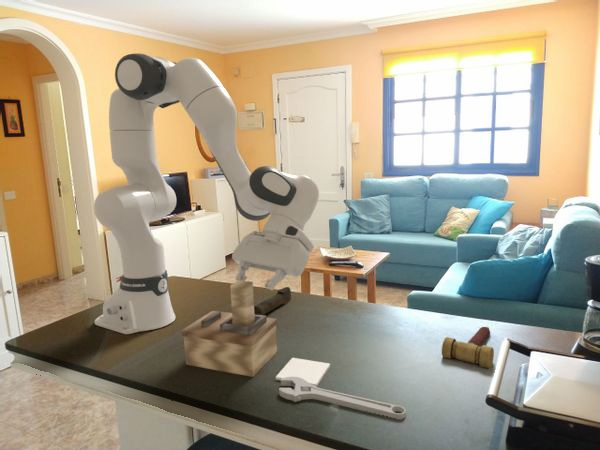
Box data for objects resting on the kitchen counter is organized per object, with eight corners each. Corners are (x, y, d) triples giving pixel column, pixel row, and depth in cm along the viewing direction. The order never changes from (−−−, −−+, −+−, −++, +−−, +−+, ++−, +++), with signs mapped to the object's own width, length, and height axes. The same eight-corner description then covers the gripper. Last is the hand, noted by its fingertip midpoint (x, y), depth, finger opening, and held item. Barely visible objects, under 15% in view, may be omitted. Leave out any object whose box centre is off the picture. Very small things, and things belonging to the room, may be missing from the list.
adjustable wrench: (407, 415, 80) (407, 406, 79) (396, 435, 74) (396, 426, 74) (288, 381, 92) (288, 373, 92) (271, 396, 87) (271, 388, 86)
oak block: (232, 328, 98) (230, 285, 97) (240, 322, 102) (238, 280, 100) (247, 330, 97) (244, 286, 95) (254, 324, 100) (252, 281, 99)
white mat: (275, 379, 92) (275, 376, 92) (292, 360, 100) (292, 357, 100) (316, 387, 89) (316, 384, 89) (330, 366, 97) (330, 363, 97)
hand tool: (260, 321, 124) (260, 305, 123) (249, 318, 126) (248, 302, 125) (298, 300, 139) (297, 286, 139) (287, 298, 142) (287, 284, 141)
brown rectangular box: (184, 365, 100) (180, 324, 98) (214, 341, 111) (212, 304, 109) (253, 377, 93) (251, 334, 91) (278, 351, 105) (277, 312, 103)
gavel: (467, 315, 115) (509, 323, 109) (466, 332, 116) (508, 341, 110) (441, 340, 98) (489, 351, 92) (440, 360, 99) (488, 372, 93)
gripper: (243, 223, 111) (215, 270, 105) (307, 231, 98) (279, 285, 92) (256, 237, 115) (230, 283, 109) (319, 247, 102) (293, 299, 96)
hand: (253, 284), depth 100 cm, fingers open, 8 cm apart
